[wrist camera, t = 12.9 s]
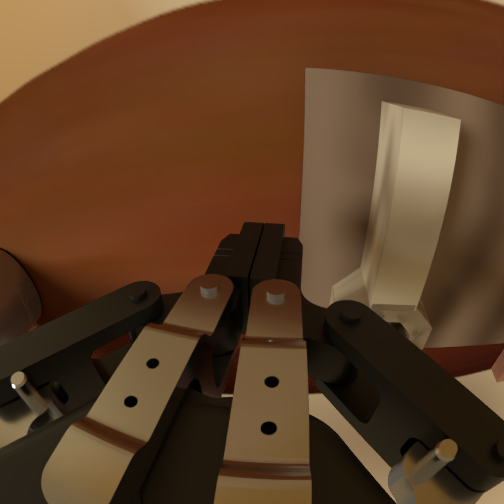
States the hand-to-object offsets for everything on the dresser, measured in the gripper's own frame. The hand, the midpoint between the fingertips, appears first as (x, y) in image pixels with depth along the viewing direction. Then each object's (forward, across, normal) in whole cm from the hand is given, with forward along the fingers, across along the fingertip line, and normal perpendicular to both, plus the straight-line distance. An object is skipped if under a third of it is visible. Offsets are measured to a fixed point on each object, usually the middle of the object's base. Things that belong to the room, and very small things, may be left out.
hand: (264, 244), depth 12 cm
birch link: (+5, -6, +2) cm, 8 cm away
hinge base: (+6, -12, +2) cm, 14 cm away
